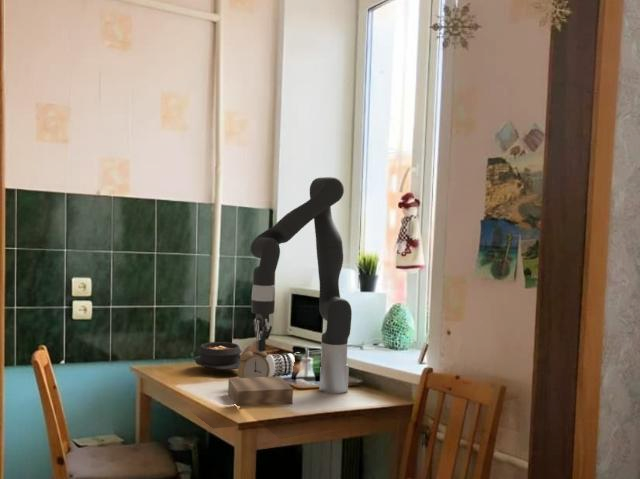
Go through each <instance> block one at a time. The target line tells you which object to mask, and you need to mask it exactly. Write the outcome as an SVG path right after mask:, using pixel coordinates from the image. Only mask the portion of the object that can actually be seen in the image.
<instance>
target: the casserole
mask: <svg viewBox="0 0 640 479" xmlns="http://www.w3.org/2000/svg"><path fill="white" fill-rule="evenodd" d="M197 352H198V354H199V355H198V356H194V357H193V360H194V361H195V364H196V365H198V366H201V367H204V368H205V369H209V370H217V371H219V370H223V371H228V370H238V366H239V364H240V362H241V359H240V355H241V354H242V353H243V351H242V349H241V348H240V345H239V344H237V343H234V342H233V343H232V342H226V341H214V342H213V341H210V342H205V343H202V344H201V345H200V347H199V349H198V350H197Z"/></svg>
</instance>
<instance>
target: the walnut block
mask: <svg viewBox="0 0 640 479" xmlns="http://www.w3.org/2000/svg"><path fill="white" fill-rule="evenodd" d="M227 386H228V388H227V391H228V393H227V395H228V396H229V398H230V399H231V400H232V401H233V402H235V403H234V404H236V405H237V406H240V407H242V406H243V407H244V406H247V405H248V406H249V405H250V406H271V405H272V404H276V405H293V401H294V400H293V399H294V388H293V387H292V385H290V383H288V382H287V381H286V380H285V379H284V378H283V376H276V377H269V376H268V377H252V378H239V377H232V378H229V377H228V385H227ZM248 406H247V407H248ZM272 406H273V405H272Z"/></svg>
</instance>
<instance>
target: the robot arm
mask: <svg viewBox="0 0 640 479" xmlns="http://www.w3.org/2000/svg"><path fill="white" fill-rule="evenodd" d="M309 186H310V187H309V199H308V200H307V201H305V202H304V203H302V204H300V205H299V206H297V207H295V208H293V209H292V210H291V211H289V212H288V213H286V214H285V215H283V217H282V218H280V219H279V220H278V221H277V222H276V223H275V225H274V224H273V226H271V227H270V228H268V229H266V230H265V231H263V232H261V233H260V234H258V235H257V236H256V237H255V238H253V240H252V242H251V245H250V247H249V248H250V253H251V255H252V256H253V257H255V258H256V259H260V261H259V265H258V266H256V267H254V269H253V273H252V274H253V275H252V276H253V279H252V289H251V310H250V312H251V313H252V314H255V318H254V319H253V321H252V324H253V330H254V335H255V337H256V339H257V345H258V346H257V349H256V350H258V351H259V352H264V351H265V352H266V341H267V340H269V338H270V335H271V332H272V329H273V327H272V325H271V324H270V323H271V320H270V315H272V314H275V304H276V303H275V301H276V300H275V299H276V288H275V286H276V285H275V284H276V283H275V278H276V270H277V267H278V264H279V260H280V255H281V248H280V245H281V244H284V243H288V242H289V241H290V240H291V239H293V238H294V237H295V236H296V235H297V234H298V233H299V232H300V231H301V230H302V229H303V228H304V227H305V226H306V225H308V224H309V223H310V222H311V221H313V223H314V231H315V232H314V234H315V247H316V259H317V268H318V269H317V270H318V279H319V282H318V283H319V300H318V302H319V303H318V304H319V305H318V306H319V307H318V308H319V309H318V310H319V315H320V316H321V317H322V319H323V320H325V321H326V330H325V332H323V333H322V334H321V343H320V344H321V346H320V347H321V350H320V351H321V367H320V372H319V391H320V392H321V393H324V394H333V395H337V394H338V395H339V394H343V393H348V392H349V371H350V370H349V369H350V366H349V364H348V362H347V361H348V340H349V338H350V335H351V330H352V329H351V328H352V315H353V314H352V307H351V304H350V302H349V301H348V300H346V299H344V298H341V294H340V286H339V284H340V283H339V282H340V281H339V280H340V275H341V271H342V268H343V263H344V246H343V240H342V237H341V234H340V232H339V230H338V228H337V226H336V223H335V221H334V219H333V216H332V208H331V207H332V206H334V205H335V204H336V203H338V202H339V201H341V199H342V198H343V196H344V192H345V188H344V187H345V186H344V184H343V182H342V181H341V179H339V178H337V177H332V176H329V177H327V176H326V177H317V178H315V179H313V180H312V182H311V184H310V185H309Z"/></svg>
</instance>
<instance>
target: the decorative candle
mask: <svg viewBox="0 0 640 479" xmlns="http://www.w3.org/2000/svg"><path fill="white" fill-rule="evenodd" d="M296 353H300V352H299V351H297V352H296ZM296 353H290V352H289V353H286V352H284V353H275V354H274V353H272V354H267V358H266V357H265V359H266V360H267V361H268V363H269V368H270V371H269V376H268V377H276V376H281V377H285V376H286V377H288V376H289V375H293V374H292V372H293V366H294V362H295V355H296Z"/></svg>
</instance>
